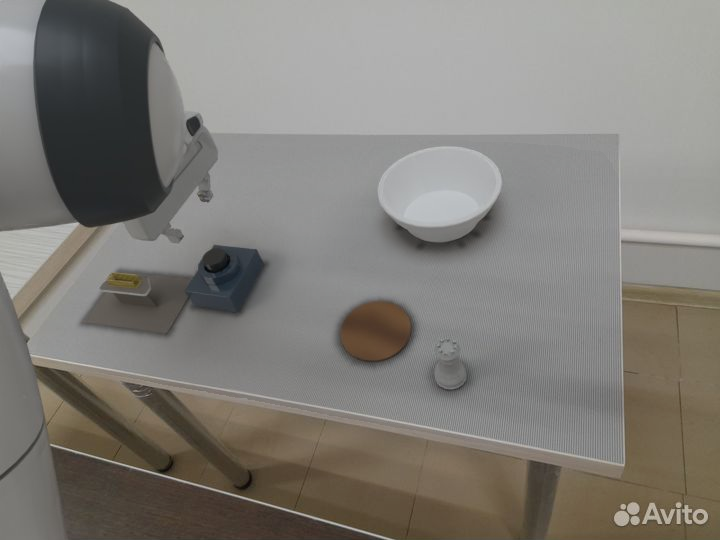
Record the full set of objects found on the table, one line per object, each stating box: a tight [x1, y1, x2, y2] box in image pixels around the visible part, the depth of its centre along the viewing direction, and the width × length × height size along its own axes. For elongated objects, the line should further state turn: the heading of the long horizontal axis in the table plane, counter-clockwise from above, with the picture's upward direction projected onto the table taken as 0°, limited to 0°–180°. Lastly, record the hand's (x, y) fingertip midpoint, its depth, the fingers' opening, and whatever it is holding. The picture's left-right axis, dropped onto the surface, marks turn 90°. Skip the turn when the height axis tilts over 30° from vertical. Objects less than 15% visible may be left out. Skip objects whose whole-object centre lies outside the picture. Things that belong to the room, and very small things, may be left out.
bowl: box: [376, 145, 503, 243], centre depth 92 cm, size 21×21×8 cm
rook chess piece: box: [433, 336, 468, 390], centre depth 70 cm, size 4×4×8 cm
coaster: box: [340, 300, 412, 363], centre depth 81 cm, size 11×11×1 cm
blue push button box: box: [185, 244, 265, 314], centre depth 91 cm, size 11×9×6 cm
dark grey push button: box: [201, 248, 229, 273], centre depth 89 cm, size 4×4×2 cm
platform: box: [83, 271, 192, 334], centre depth 93 cm, size 12×18×7 cm, turn 75°
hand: (193, 219), depth 83 cm, fingers open, 8 cm apart
